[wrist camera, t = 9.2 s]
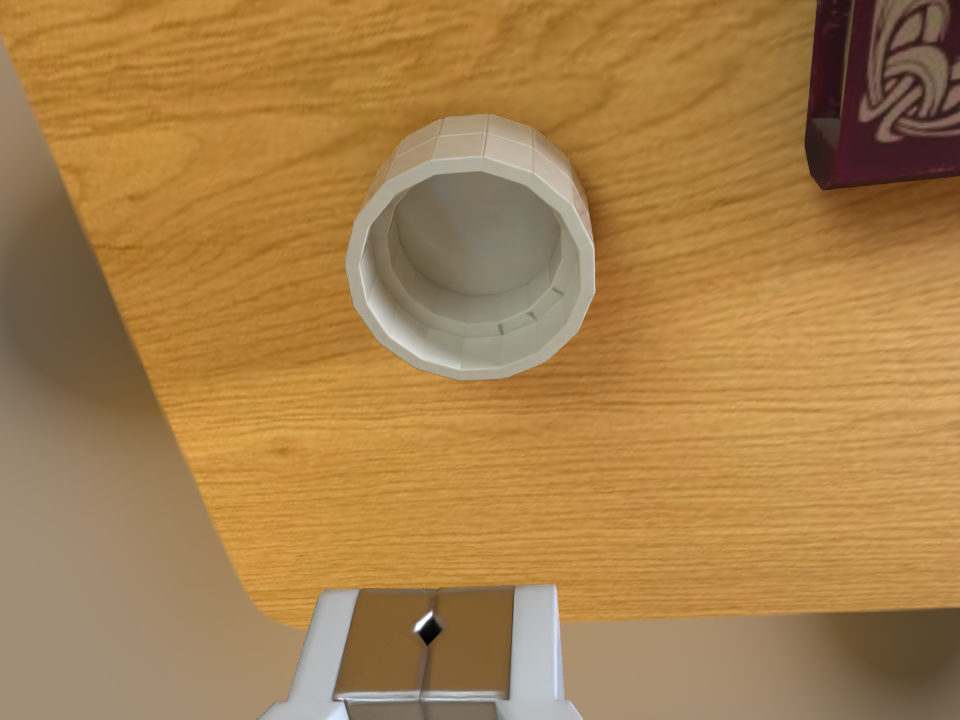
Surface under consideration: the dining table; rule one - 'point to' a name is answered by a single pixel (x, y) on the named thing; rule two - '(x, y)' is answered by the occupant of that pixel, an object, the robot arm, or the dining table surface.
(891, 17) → the book
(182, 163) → the dining table surface
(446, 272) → the bowl
